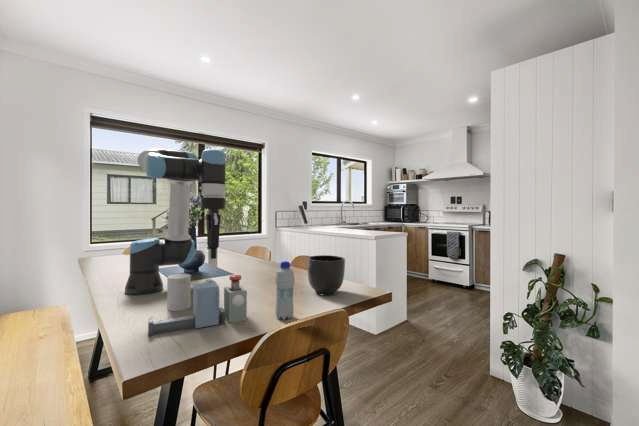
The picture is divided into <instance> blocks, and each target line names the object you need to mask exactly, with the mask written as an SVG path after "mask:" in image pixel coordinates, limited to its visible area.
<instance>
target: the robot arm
mask: <svg viewBox="0 0 639 426" xmlns="http://www.w3.org/2000/svg"><path fill="white" fill-rule="evenodd" d="M200 157H201V158H200V159H199V158H198V156H197V155H196V153H194V152H192V151H188V150H187V151H186V150H177V149H169V148H161V147H159V148H156V147H154V148H150V149H149V148H148V149H146V150H143V151H142V152H140V153H139V155H138V157H137V163H138V164H137V165H138V166H139V168H140V169H141V170H142V171H144V172H145V174H146V176H147V178H150V179H152V178H153V179H157V180H159V179H165V180H167V181H168V182H169V184H170V185H169V187H170V188H169V204H168V205H169V207H168V208H169V209H168V210H169V211H168V232H167V234H166V235H164V240H160V238H158V237H150V238H143V239H138V240H134V241H133V242H131V243H130V244H129V245H130V246H129V252H128V254H129V276H128V278H127V282H126V283H125V286H124V293H125V294H127V295H135V296H137V295H148V294H153V293H157V292H160V291H162V290H163V289H164V283H163V279H162V277H161V275H160V267H163V266H164V267H165V266H174V265H184V264H189V263H191V262H192V261H193V259H194V256H195V249H196V247H195V246H196V245H195V244H196V242H195V241H194V240H193V239H192V236H191V235H190V234H189V222H190V220H189V219H190V201H191V184H193V183H194V182H195V181H197V182H199V183H201V186H199V190H201V196H202V197H201V198H200V199H201V201H200V202H201V203H200V206H201V207H200V208H201V209H202V210H203V209H204V210H208V212H207V213H208V214H206V215H205V220H206V236H207V237H206V238H207V239H206V242H207V243H206V245H207V247H206V250H207V268H208V269H217V268H218V249H219V247H220V230H221V229H220V228H221V214H219V210H224V209H225V208H226V199H225V198H224V197H225V196H226V166H227V165H226V164H227V161H226V153H225V152H224V151H222V150H220V149H204V150H203V151H202V152H201V156H200Z"/></svg>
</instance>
